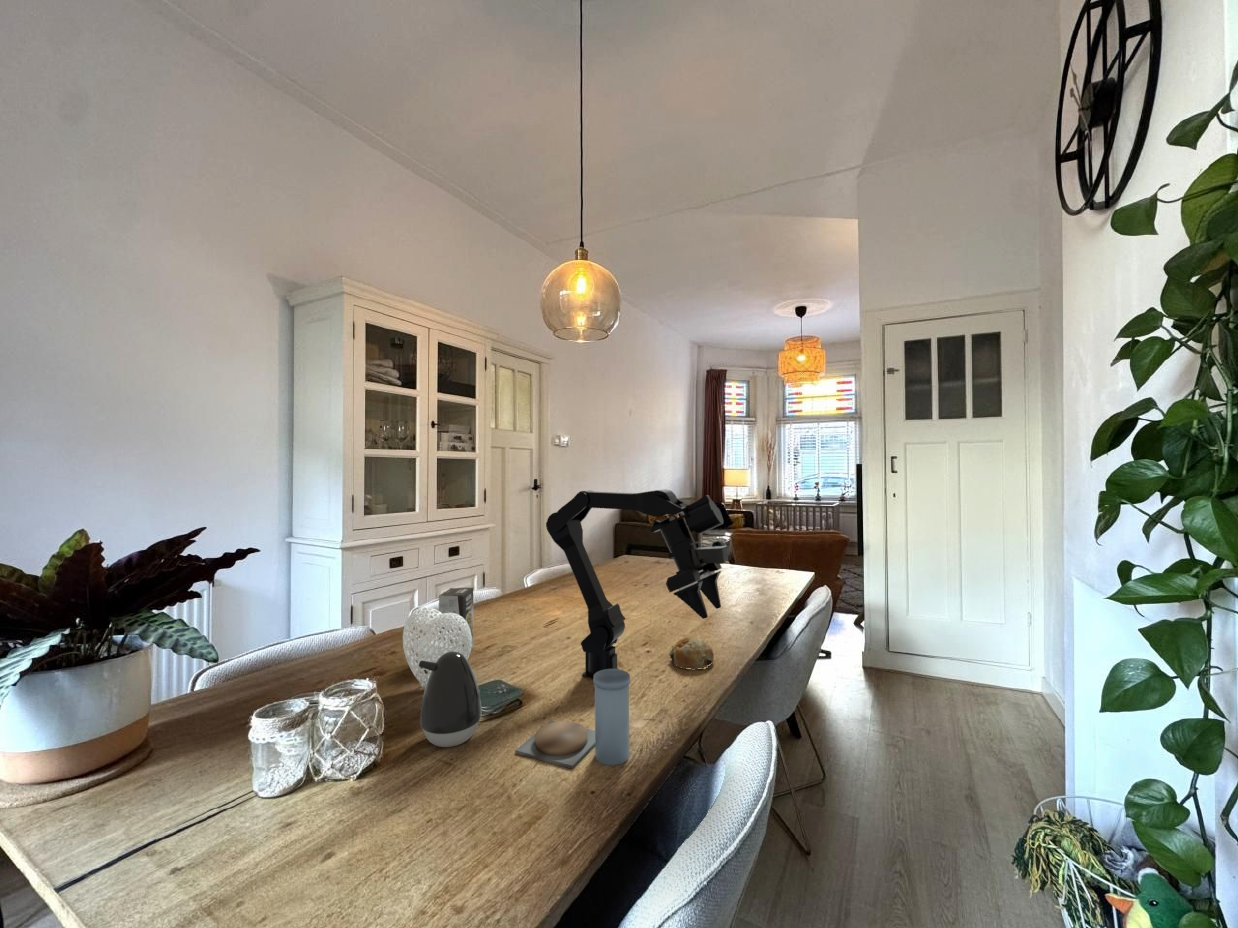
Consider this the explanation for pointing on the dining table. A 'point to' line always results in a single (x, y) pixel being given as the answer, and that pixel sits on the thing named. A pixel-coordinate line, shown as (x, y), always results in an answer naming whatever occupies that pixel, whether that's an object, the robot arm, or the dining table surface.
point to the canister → (612, 716)
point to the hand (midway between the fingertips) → (712, 612)
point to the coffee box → (458, 607)
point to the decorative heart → (433, 638)
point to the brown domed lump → (691, 653)
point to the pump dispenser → (450, 701)
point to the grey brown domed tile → (559, 743)
